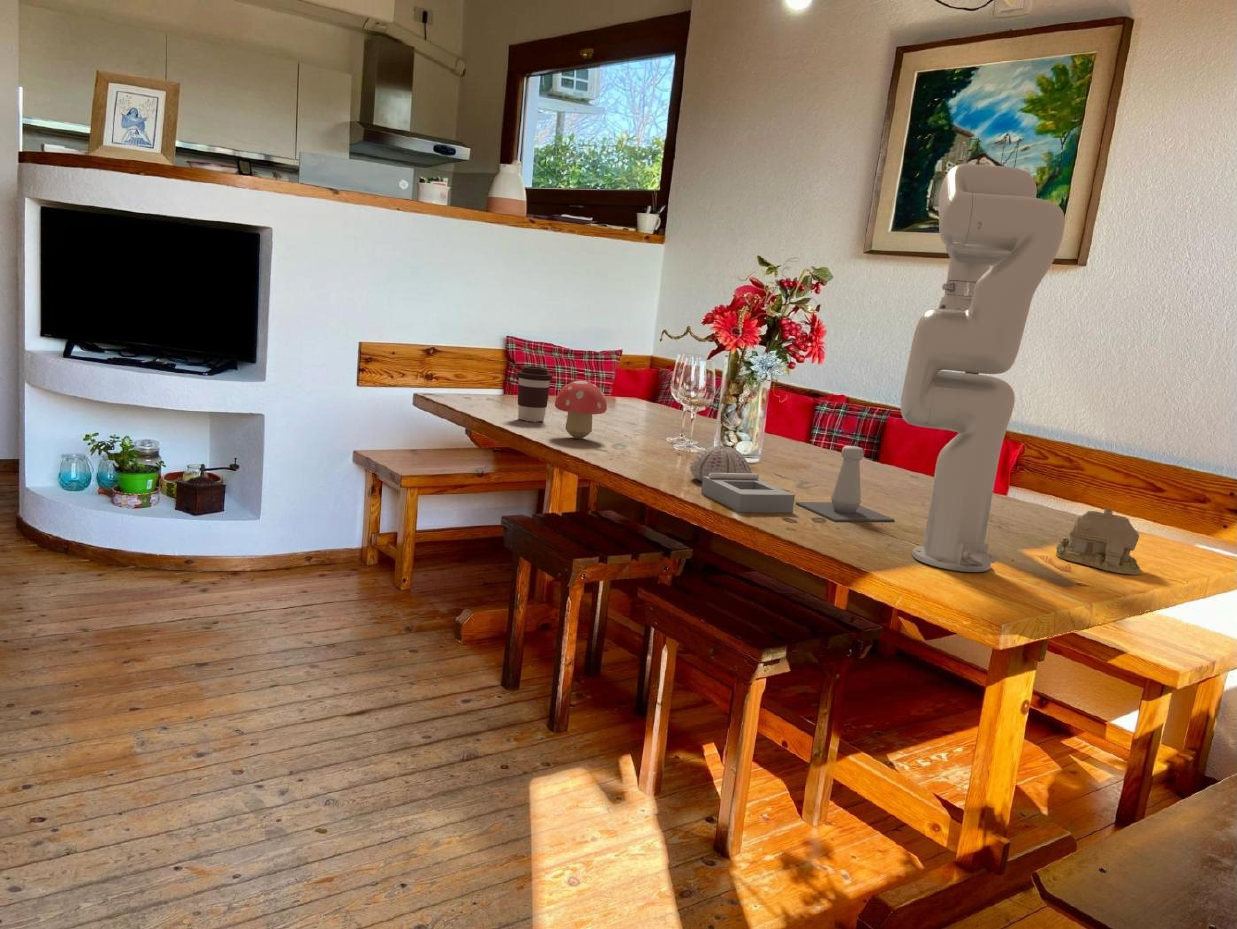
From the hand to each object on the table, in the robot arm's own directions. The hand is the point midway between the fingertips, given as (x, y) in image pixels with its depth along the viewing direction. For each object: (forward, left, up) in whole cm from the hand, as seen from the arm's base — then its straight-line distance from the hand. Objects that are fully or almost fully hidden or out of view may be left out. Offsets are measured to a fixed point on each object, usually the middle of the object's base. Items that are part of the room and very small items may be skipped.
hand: (951, 379), depth 199 cm
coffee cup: (+109, +51, -28) cm, 124 cm away
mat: (+4, +18, -28) cm, 34 cm away
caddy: (+12, +36, -28) cm, 47 cm away
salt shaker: (+4, +18, -28) cm, 34 cm away
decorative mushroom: (+81, +47, -28) cm, 98 cm away
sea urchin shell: (+31, +32, -29) cm, 53 cm away
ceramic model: (-32, -11, -29) cm, 45 cm away
